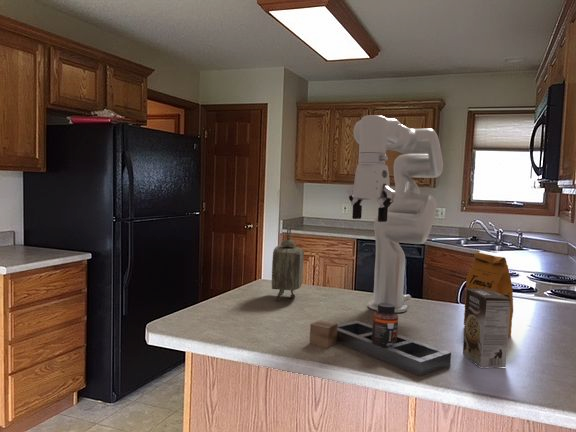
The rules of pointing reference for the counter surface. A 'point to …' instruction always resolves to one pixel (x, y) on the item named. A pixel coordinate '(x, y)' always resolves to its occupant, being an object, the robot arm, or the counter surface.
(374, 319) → the supplement bottle
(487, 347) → the coffee box
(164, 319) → the counter surface
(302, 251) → the tabletop clock
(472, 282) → the coffee package
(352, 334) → the rail
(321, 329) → the walnut block
